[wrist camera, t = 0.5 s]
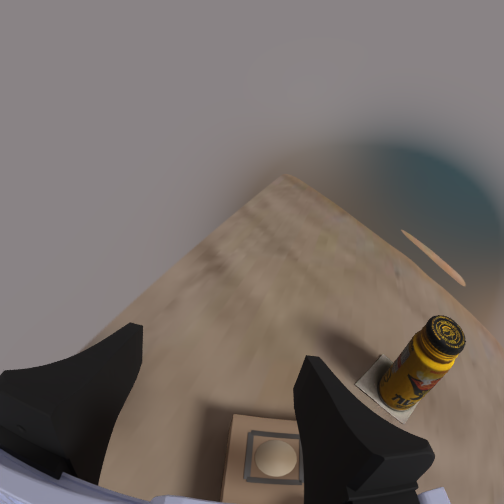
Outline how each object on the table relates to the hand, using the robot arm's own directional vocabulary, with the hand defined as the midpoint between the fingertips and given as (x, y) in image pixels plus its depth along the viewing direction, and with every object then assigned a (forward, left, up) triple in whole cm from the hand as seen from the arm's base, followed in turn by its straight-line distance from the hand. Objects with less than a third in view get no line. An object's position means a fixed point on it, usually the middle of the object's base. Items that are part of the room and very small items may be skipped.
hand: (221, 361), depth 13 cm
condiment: (+12, -22, -19) cm, 31 cm away
